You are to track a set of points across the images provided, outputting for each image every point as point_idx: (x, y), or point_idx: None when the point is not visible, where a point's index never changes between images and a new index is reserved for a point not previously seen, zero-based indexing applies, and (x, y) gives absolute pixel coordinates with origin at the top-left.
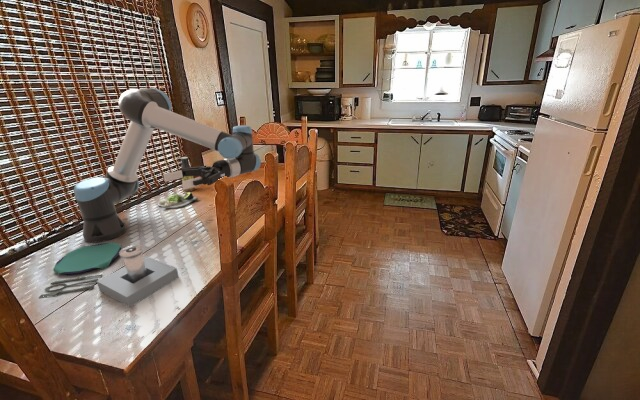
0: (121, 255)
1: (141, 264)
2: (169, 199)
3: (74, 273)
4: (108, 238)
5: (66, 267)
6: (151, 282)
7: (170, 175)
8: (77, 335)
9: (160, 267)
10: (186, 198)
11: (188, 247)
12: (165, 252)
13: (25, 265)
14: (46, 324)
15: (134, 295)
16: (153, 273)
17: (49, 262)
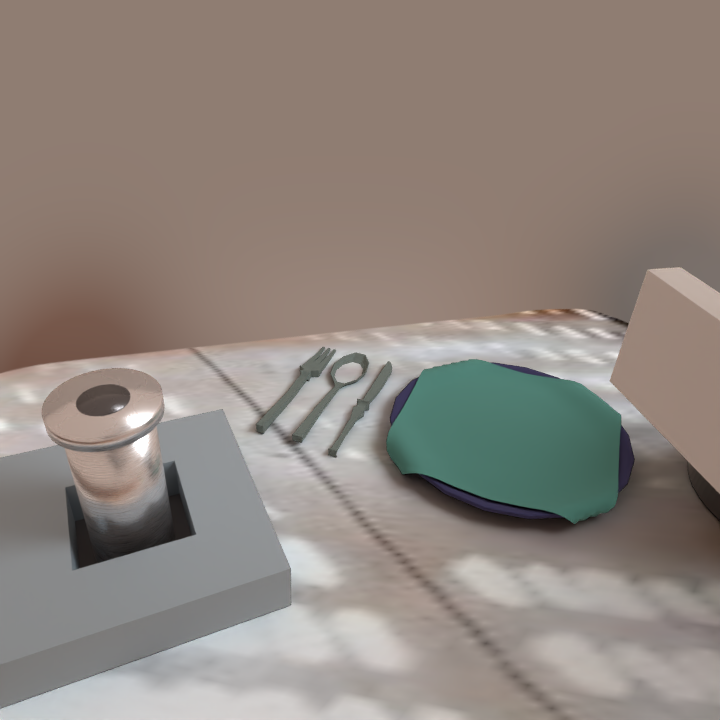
0: (93, 374)
1: (75, 482)
2: None
3: (400, 395)
4: (704, 494)
5: (468, 384)
6: None
7: (703, 363)
8: (26, 394)
9: (85, 600)
10: None
11: None
12: (380, 717)
13: (565, 331)
14: (161, 357)
15: None
16: (61, 562)
17: (556, 364)
